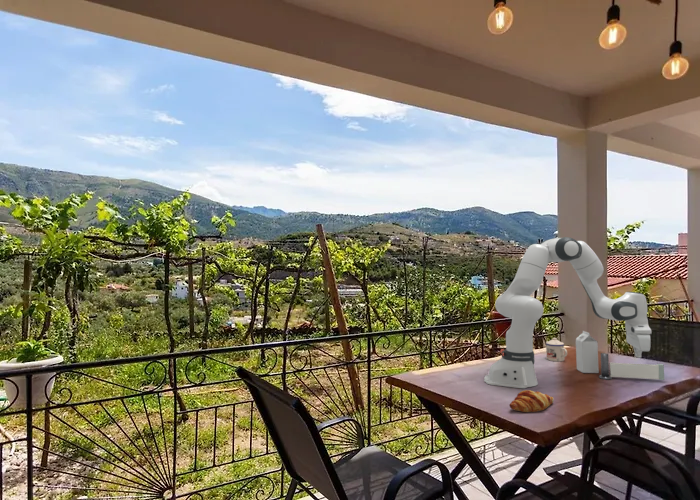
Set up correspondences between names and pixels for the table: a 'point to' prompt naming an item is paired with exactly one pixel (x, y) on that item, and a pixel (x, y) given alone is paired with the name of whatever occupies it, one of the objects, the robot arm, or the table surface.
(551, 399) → the croissant
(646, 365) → the gate
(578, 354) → the milk carton
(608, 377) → the hinge post
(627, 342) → the robot arm
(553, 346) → the teacup with lid
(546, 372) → the table surface
